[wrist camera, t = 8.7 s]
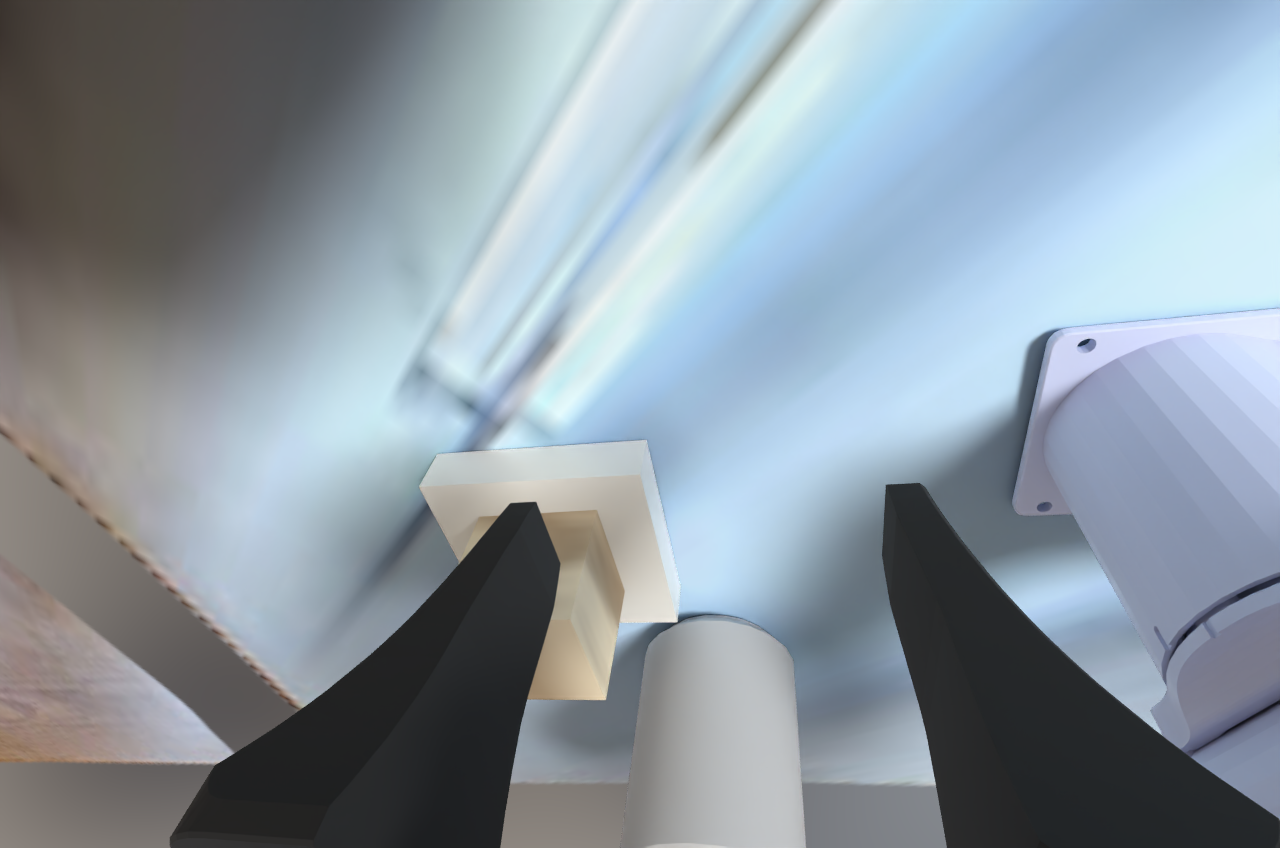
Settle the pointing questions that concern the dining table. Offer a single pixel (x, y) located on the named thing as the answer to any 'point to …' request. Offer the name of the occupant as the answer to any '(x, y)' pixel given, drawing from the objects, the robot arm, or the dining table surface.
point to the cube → (576, 608)
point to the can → (715, 741)
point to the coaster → (569, 507)
